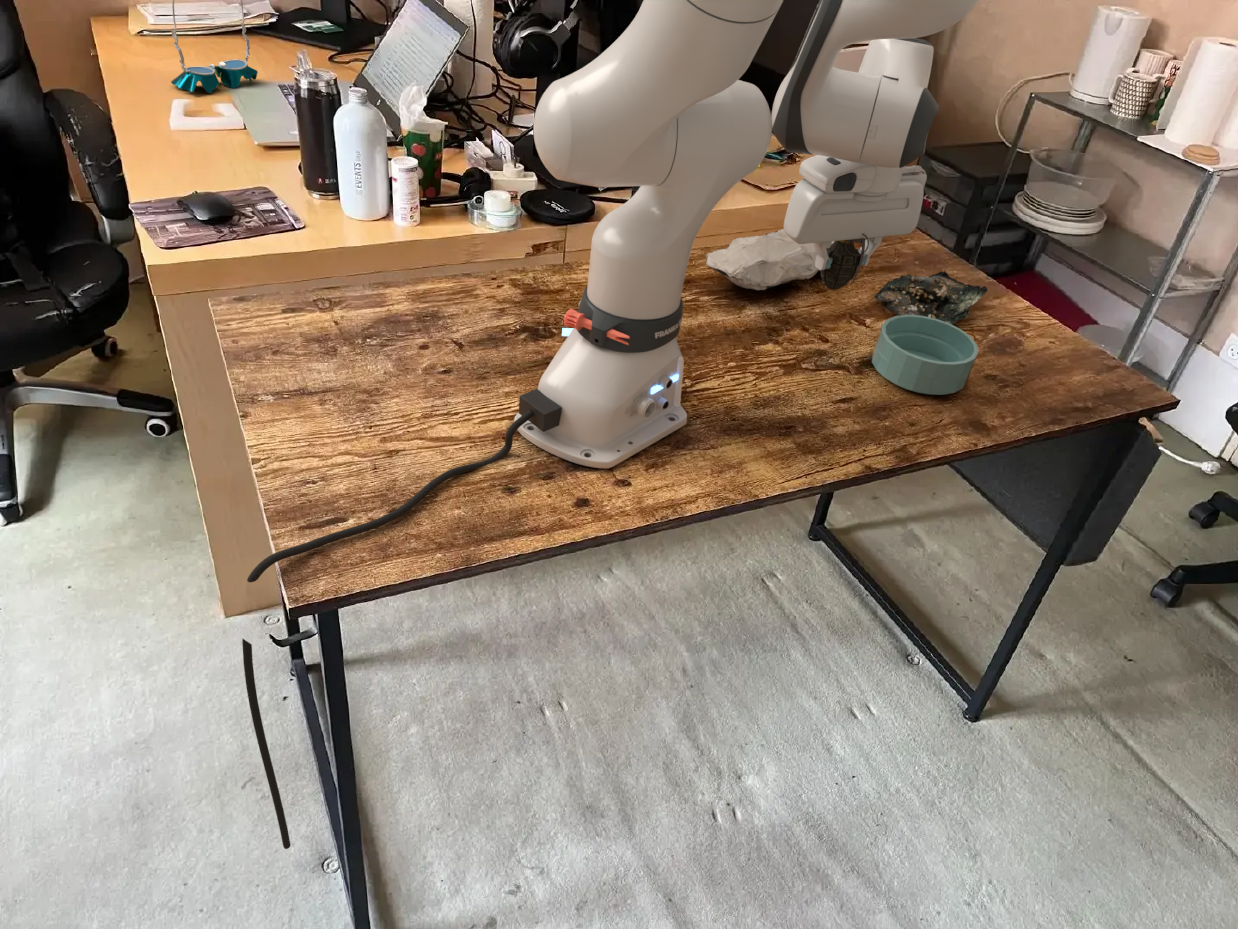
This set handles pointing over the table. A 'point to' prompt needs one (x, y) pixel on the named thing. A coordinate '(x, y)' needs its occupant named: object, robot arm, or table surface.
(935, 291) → the decorative rock
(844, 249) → the grenade
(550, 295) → the table surface
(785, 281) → the stone
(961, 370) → the bowl
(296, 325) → the table surface
